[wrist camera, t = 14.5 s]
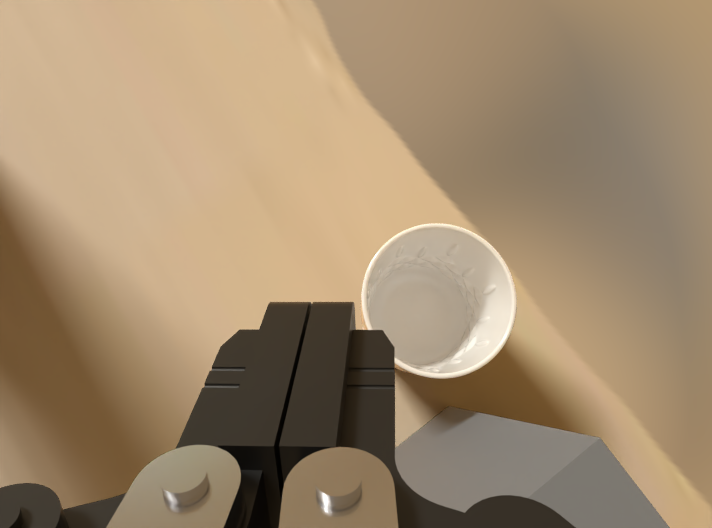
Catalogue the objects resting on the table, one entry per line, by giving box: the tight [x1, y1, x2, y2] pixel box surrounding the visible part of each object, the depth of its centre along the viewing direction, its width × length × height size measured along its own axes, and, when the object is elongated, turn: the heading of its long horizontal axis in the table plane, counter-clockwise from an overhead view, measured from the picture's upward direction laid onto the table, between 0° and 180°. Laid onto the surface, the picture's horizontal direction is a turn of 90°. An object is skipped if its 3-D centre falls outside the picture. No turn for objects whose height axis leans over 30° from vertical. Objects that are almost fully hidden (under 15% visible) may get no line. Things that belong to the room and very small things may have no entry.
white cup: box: [361, 223, 517, 379], centre depth 35 cm, size 8×8×10 cm
